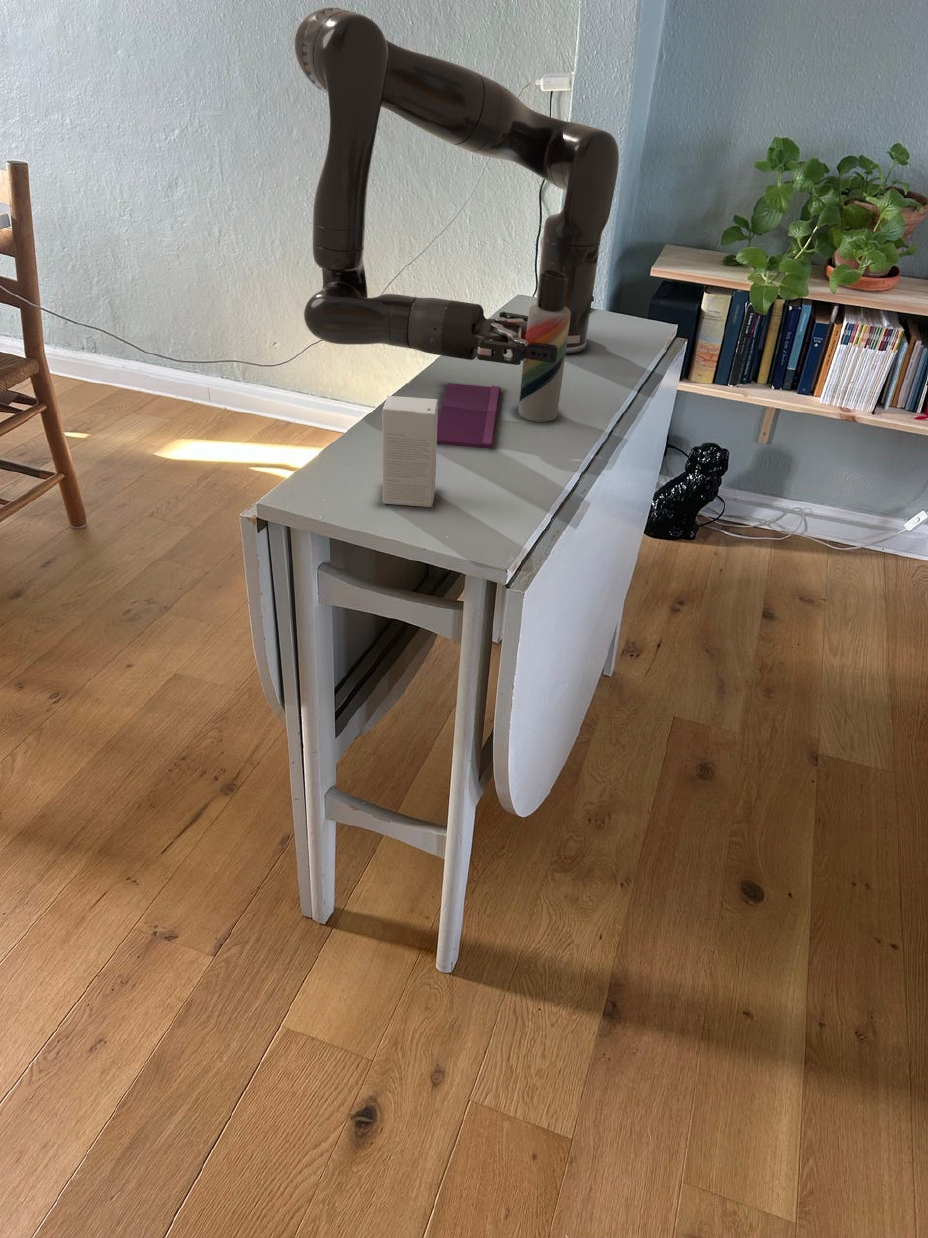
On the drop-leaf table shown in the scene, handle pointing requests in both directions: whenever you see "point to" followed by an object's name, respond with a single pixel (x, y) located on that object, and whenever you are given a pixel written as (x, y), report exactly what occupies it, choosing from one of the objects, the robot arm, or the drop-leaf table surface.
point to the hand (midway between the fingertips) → (561, 345)
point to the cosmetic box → (409, 450)
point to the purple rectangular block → (468, 415)
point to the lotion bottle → (548, 328)
